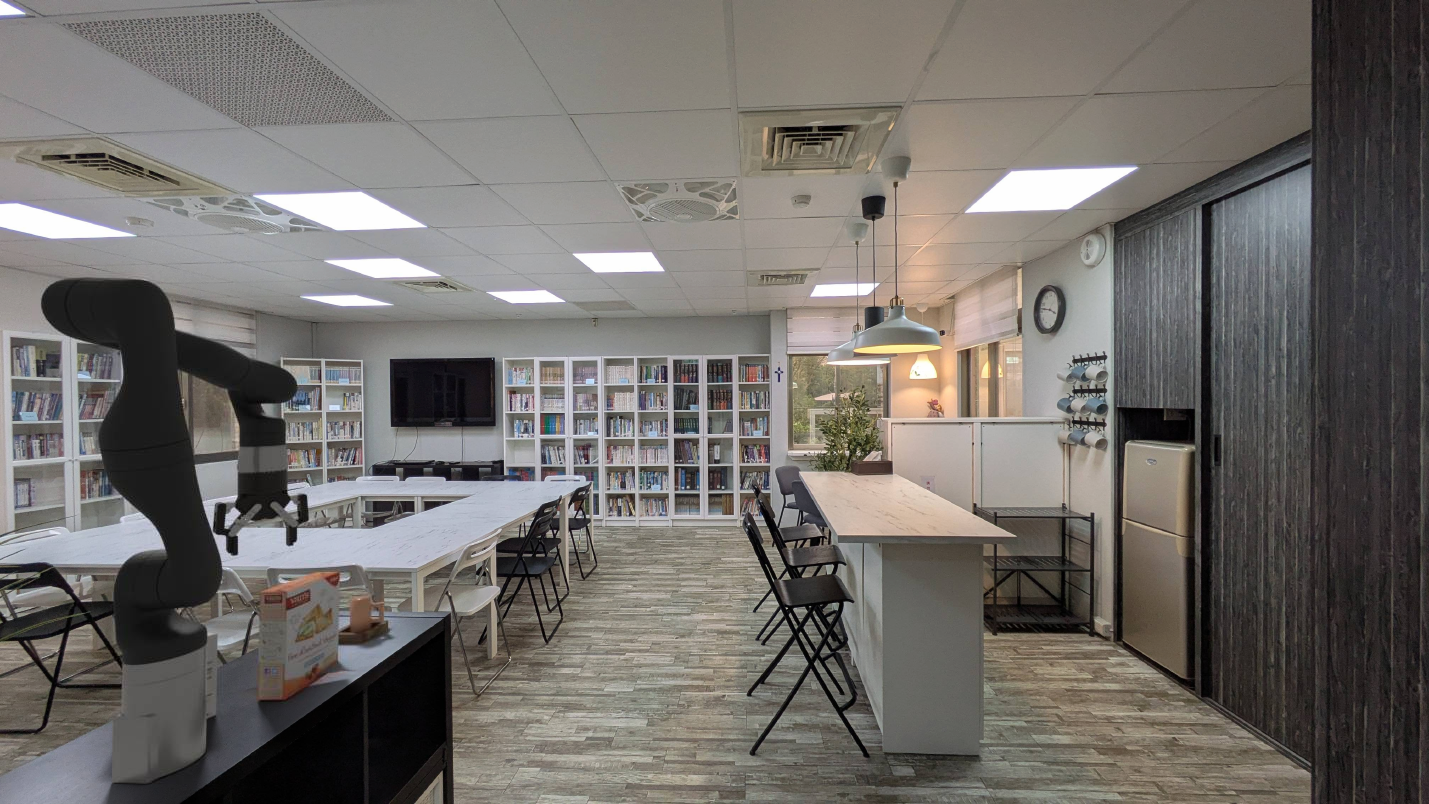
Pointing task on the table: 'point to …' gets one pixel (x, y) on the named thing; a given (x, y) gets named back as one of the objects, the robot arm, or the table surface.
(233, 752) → the table surface
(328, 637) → the cracker box
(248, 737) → the table surface
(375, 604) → the terracotta jug
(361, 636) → the box
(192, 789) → the table surface
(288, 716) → the table surface
